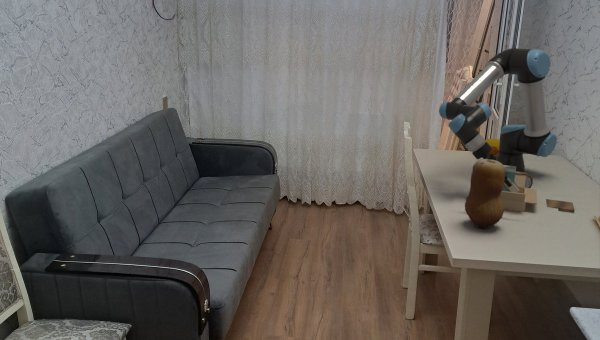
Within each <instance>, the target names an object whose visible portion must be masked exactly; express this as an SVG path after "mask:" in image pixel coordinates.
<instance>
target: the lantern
mask: <svg viewBox="0 0 600 340" xmlns="http://www.w3.org/2000/svg"><path fill="white" fill-rule="evenodd" d="M485 142H487V143H488V144H489V145H490V146H491V147H492V149H491V151H490V152H489V153H490V154H493V155H494V156H495V157H496V158H497V155H498V152H499V144H500V138H499V139H498V138H486V139H485Z"/></svg>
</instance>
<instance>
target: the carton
mask: <svg viewBox="0 0 600 340" xmlns="http://www.w3.org/2000/svg"><path fill="white" fill-rule="evenodd" d="M514 180H515V182H516V183H517V184H518V185H519V187H517V188H518V189H519V191H517V192H516V193H515V192H507V191H501V195H500V196H501V200H502V203H503V210H509V211H510V210H511V211H515V212H516V211H517V212H521V213H522V212H525V211H526V205H527V204H533V205H538V196H537V194H538V193H537V189H536V188H532V187H531V188H525V180H526V176H518V175H515V179H514Z"/></svg>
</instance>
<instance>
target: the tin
mask: <svg viewBox="0 0 600 340" xmlns="http://www.w3.org/2000/svg"><path fill="white" fill-rule="evenodd" d="M515 175H518V176H526V180H525V188H531V189H532V186H533V184H534V179H533V176H532V175H531V174H530V173H528V172H526V171H524V172H519V171H516V172H515Z"/></svg>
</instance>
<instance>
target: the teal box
mask: <svg viewBox="0 0 600 340" xmlns="http://www.w3.org/2000/svg"><path fill="white" fill-rule="evenodd" d="M503 166H504V168H505V175H506V177H507V178H509V179H510V180H511V181H512V182H513V184H514V179H515V172H516V166H507V165H503ZM502 191H507V192H511V191H510V190H509V189H508V188H507V186H506V185H505V184H504V186H503V189H502Z"/></svg>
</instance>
